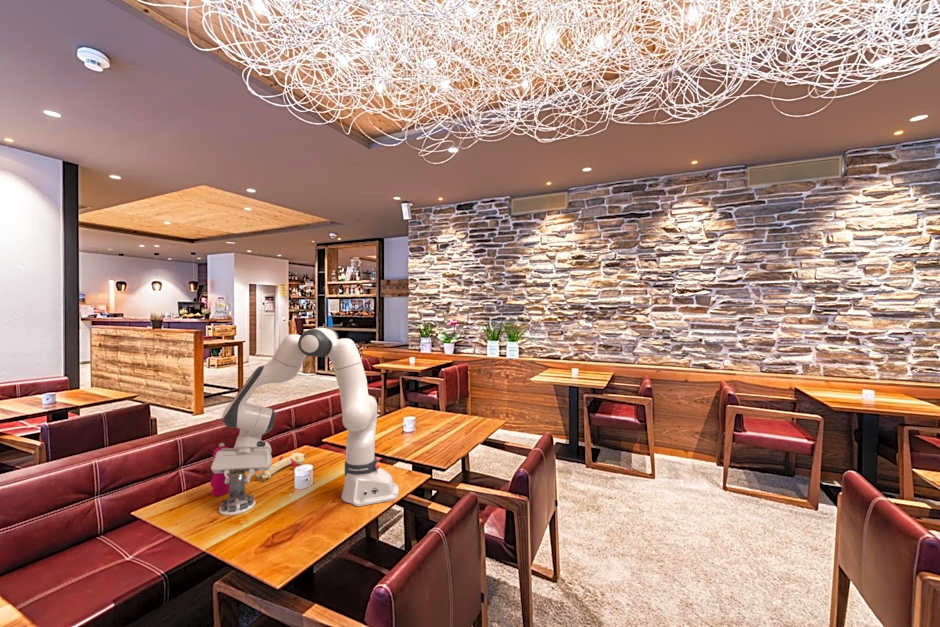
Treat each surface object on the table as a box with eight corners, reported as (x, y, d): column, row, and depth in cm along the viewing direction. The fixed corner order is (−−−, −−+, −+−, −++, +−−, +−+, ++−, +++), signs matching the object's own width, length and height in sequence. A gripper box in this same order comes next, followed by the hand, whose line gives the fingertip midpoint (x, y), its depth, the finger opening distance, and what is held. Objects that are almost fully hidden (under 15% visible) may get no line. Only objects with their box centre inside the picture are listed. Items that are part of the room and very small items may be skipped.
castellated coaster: (259, 498, 150) (259, 491, 150) (248, 513, 139) (249, 506, 139) (226, 501, 148) (227, 494, 148) (213, 516, 137) (213, 509, 137)
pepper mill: (221, 497, 151) (221, 446, 151) (205, 495, 152) (206, 445, 152) (236, 489, 158) (236, 440, 158) (221, 487, 159) (221, 439, 159)
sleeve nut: (246, 491, 146) (247, 470, 146) (241, 497, 142) (242, 475, 142) (232, 492, 145) (232, 470, 145) (226, 498, 141) (227, 476, 140)
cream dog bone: (268, 486, 164) (311, 460, 188) (267, 466, 164) (310, 443, 187) (251, 482, 168) (296, 457, 191) (250, 462, 167) (295, 440, 190)
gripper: (215, 445, 148) (202, 481, 139) (272, 442, 152) (264, 477, 143) (220, 452, 153) (208, 488, 143) (275, 449, 157) (267, 484, 147)
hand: (236, 482), depth 143 cm, fingers closed on sleeve nut, 5 cm apart
